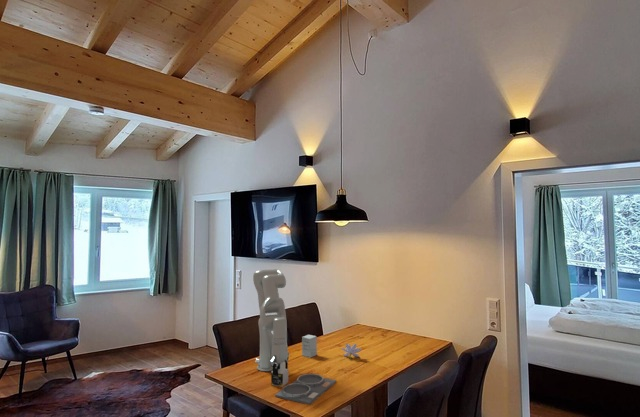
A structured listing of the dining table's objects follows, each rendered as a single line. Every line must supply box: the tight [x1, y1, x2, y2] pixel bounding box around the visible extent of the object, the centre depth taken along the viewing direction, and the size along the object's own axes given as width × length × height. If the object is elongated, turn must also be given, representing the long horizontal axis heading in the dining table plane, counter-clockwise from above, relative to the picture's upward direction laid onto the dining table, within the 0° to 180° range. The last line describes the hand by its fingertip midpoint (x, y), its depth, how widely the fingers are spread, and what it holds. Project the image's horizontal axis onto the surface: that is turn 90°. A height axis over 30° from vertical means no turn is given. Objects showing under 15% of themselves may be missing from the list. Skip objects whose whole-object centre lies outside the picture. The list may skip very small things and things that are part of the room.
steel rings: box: [282, 373, 324, 398], centre depth 199 cm, size 14×29×2 cm, turn 153°
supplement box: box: [301, 334, 318, 358], centre depth 253 cm, size 7×7×13 cm
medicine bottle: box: [270, 361, 289, 388], centre depth 206 cm, size 7×7×12 cm
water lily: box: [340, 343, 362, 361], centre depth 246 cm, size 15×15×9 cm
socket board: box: [274, 374, 337, 405], centre depth 198 cm, size 20×30×1 cm, turn 153°
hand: (280, 372), depth 205 cm, fingers open, 9 cm apart
